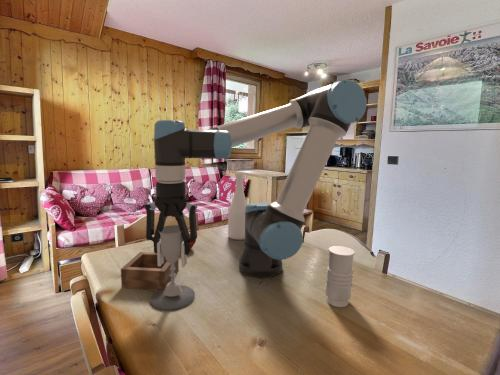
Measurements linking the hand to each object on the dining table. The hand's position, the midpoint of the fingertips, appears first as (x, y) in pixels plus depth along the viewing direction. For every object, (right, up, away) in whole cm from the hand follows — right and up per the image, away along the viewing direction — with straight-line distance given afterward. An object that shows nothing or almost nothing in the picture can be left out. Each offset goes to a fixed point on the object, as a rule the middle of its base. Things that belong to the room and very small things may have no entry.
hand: (172, 264), depth 78 cm
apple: (-4, -4, +36) cm, 37 cm away
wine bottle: (+16, -2, +53) cm, 56 cm away
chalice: (0, -8, +1) cm, 8 cm away
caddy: (-10, -8, +12) cm, 17 cm away
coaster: (0, -10, +2) cm, 10 cm away
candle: (+46, -11, +2) cm, 47 cm away
